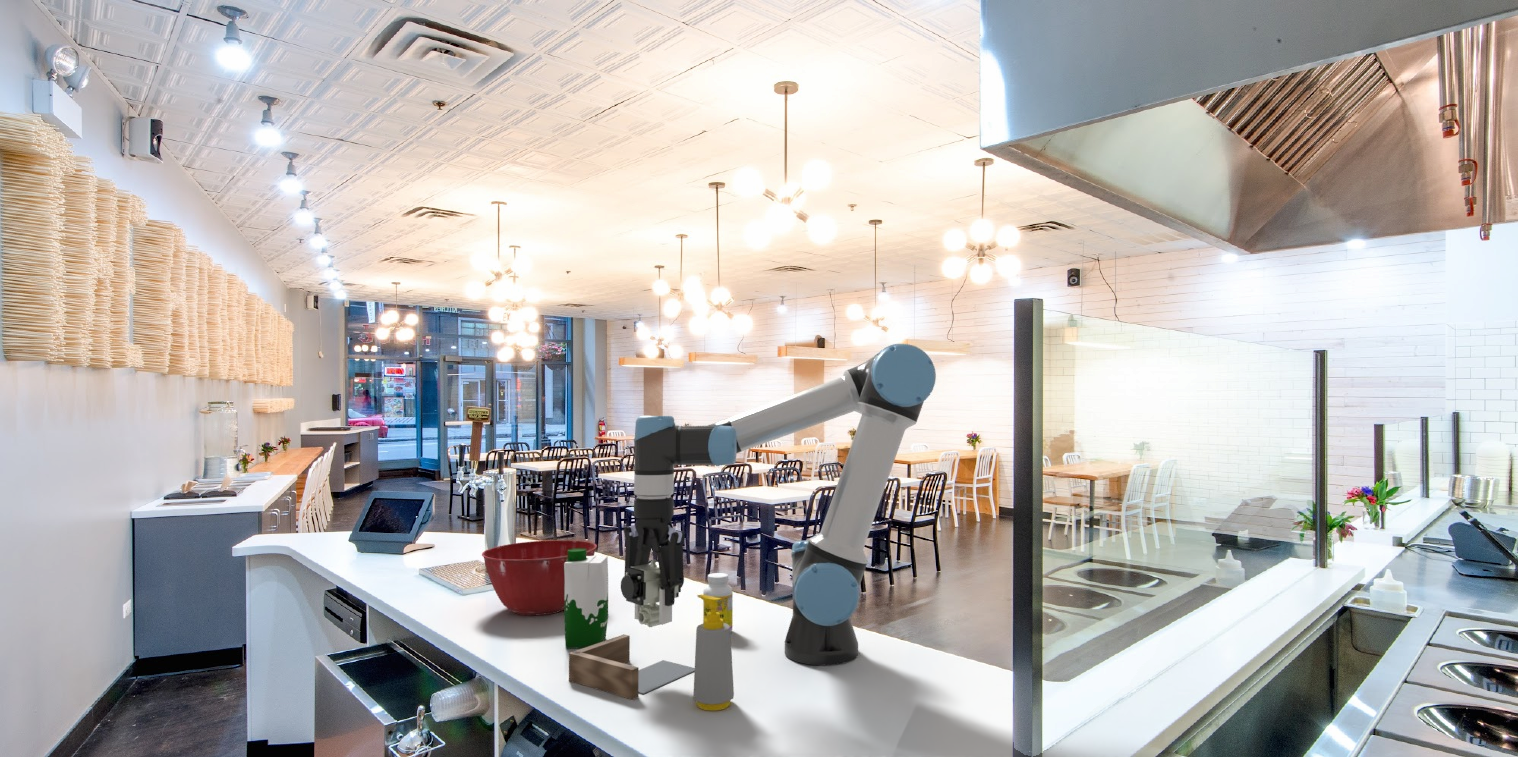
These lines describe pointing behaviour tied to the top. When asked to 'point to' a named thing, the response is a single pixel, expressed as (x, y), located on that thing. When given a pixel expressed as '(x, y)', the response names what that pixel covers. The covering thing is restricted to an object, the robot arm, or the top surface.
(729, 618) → the supplement bottle
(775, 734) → the top surface
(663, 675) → the slate pad
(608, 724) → the top surface
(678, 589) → the pneumatic valve
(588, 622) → the milk carton
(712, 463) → the robot arm
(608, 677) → the walnut corner
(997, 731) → the top surface
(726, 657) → the soap bottle
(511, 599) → the mixing bowl
